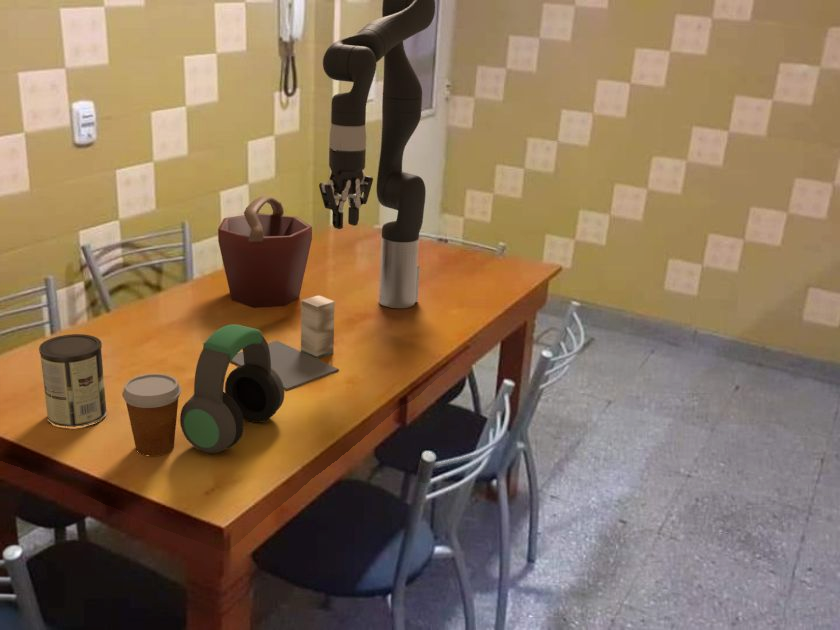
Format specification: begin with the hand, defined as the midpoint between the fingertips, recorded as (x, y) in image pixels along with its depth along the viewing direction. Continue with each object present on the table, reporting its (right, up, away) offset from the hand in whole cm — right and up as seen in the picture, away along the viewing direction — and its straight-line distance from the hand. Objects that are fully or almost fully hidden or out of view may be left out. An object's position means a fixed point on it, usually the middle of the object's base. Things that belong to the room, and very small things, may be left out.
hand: (345, 226), depth 190 cm
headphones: (-17, -40, -30) cm, 53 cm away
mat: (-13, -29, -3) cm, 32 cm away
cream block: (-7, -27, +5) cm, 28 cm away
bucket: (-24, -14, +35) cm, 45 cm away
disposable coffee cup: (-30, -42, -37) cm, 63 cm away
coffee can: (-46, -38, -28) cm, 66 cm away
